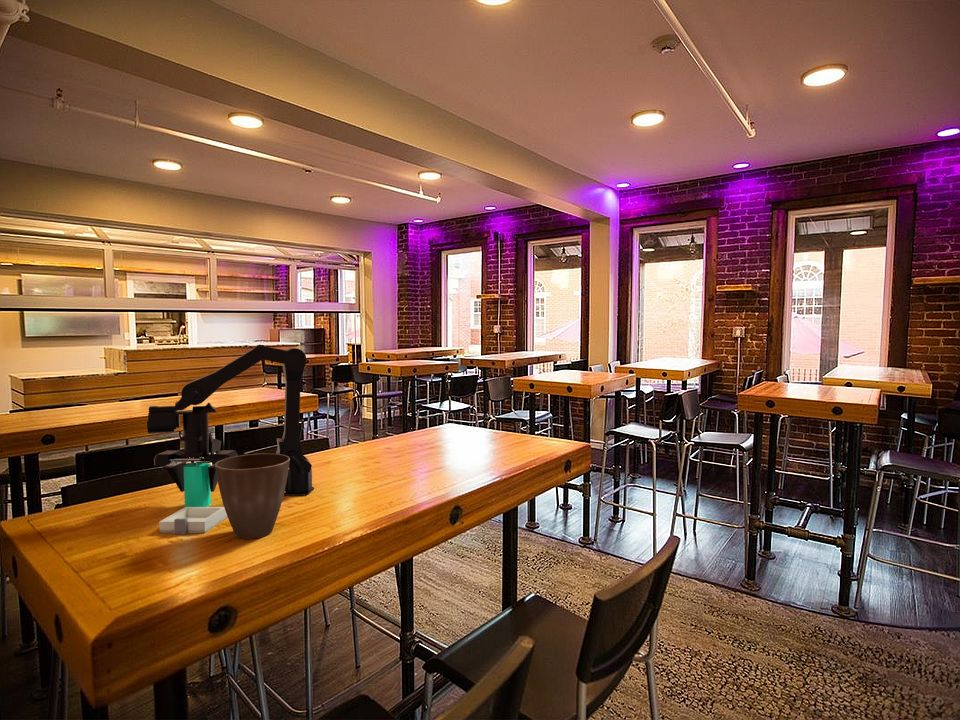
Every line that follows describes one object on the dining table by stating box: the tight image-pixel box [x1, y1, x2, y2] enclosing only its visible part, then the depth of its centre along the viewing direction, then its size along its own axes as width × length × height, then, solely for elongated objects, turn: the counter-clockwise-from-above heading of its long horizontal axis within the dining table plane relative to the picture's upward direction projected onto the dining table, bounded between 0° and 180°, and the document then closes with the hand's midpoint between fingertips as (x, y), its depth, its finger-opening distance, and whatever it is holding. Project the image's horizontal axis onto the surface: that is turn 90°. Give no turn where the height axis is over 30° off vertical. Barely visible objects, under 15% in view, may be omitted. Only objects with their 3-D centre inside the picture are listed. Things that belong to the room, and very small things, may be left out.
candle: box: [183, 462, 212, 508], centre depth 134 cm, size 6×6×12 cm
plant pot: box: [215, 453, 290, 540], centre depth 115 cm, size 15×15×16 cm
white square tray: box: [158, 506, 228, 535], centre depth 120 cm, size 10×11×3 cm
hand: (197, 491), depth 134 cm, fingers open, 7 cm apart
